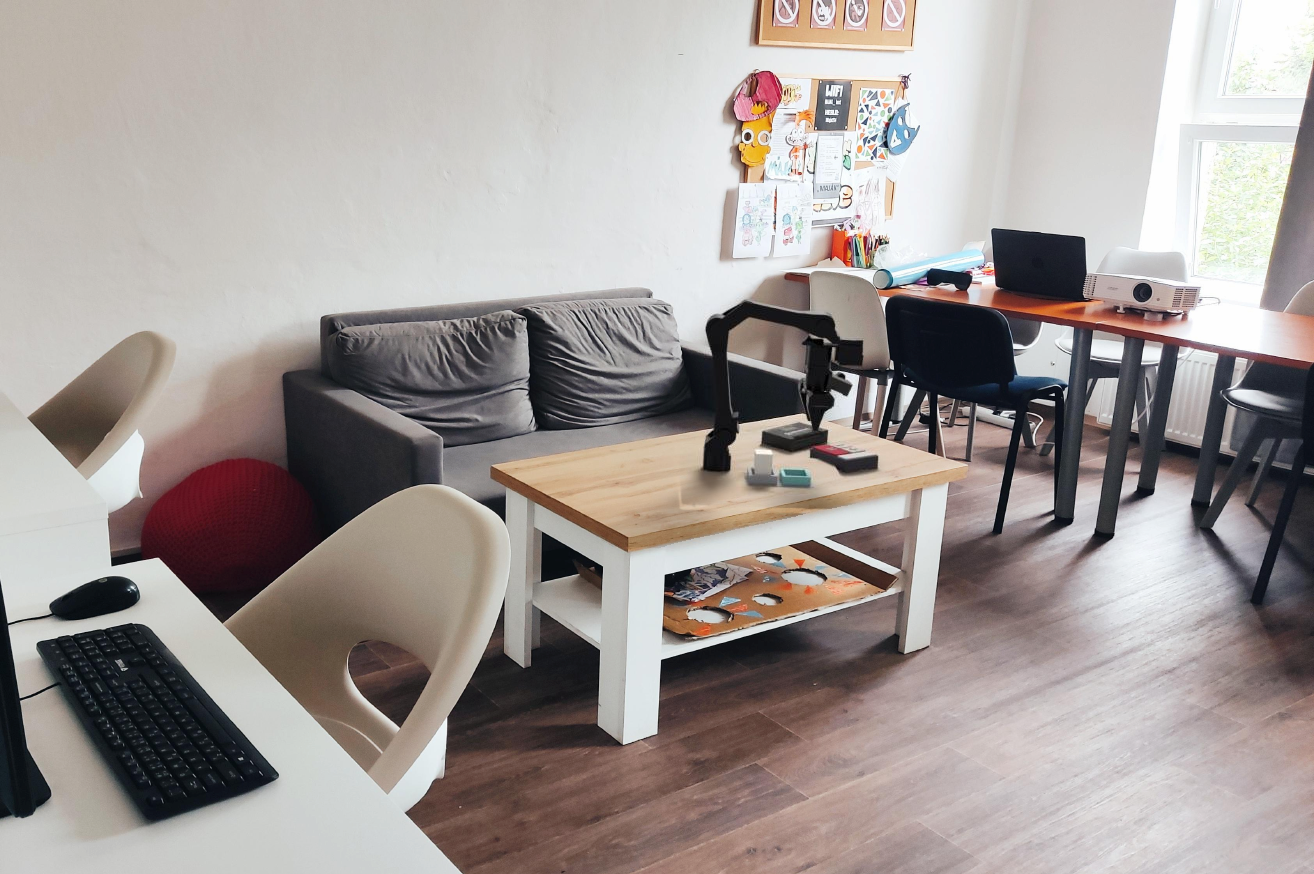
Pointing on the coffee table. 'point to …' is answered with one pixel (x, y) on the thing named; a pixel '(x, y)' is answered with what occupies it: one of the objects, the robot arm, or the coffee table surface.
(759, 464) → the plug
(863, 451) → the calculator
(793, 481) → the compartment tray
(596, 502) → the coffee table surface
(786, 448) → the black antenna base
